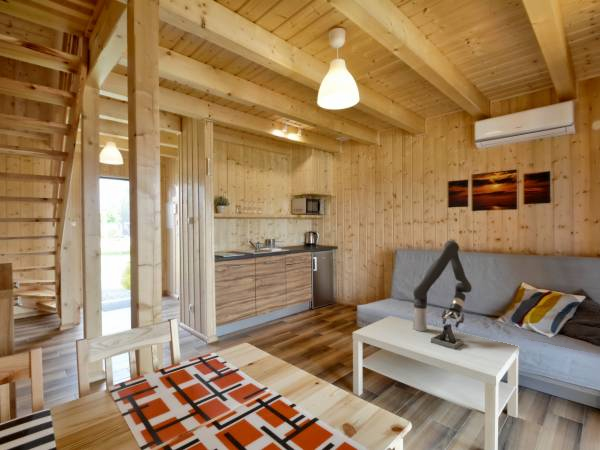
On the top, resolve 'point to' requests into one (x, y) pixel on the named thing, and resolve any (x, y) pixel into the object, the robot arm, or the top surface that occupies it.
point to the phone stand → (448, 332)
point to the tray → (437, 341)
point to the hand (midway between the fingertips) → (449, 325)
